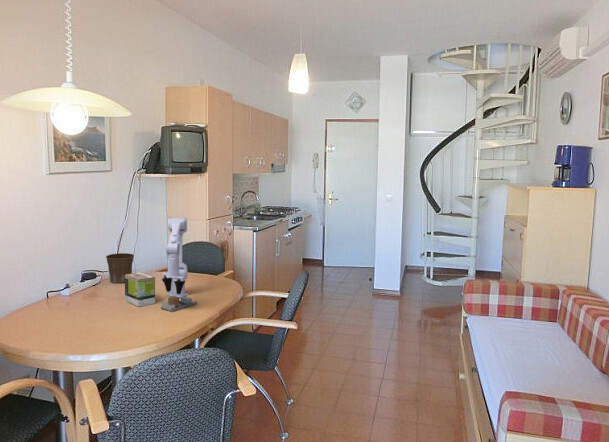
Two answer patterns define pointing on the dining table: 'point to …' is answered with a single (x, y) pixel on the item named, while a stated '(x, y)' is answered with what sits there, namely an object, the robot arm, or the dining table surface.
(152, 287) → the tea box
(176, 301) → the block
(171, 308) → the vise
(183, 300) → the block
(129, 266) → the plant pot
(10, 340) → the dining table surface
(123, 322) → the dining table surface
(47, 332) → the dining table surface
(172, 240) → the robot arm
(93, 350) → the dining table surface
